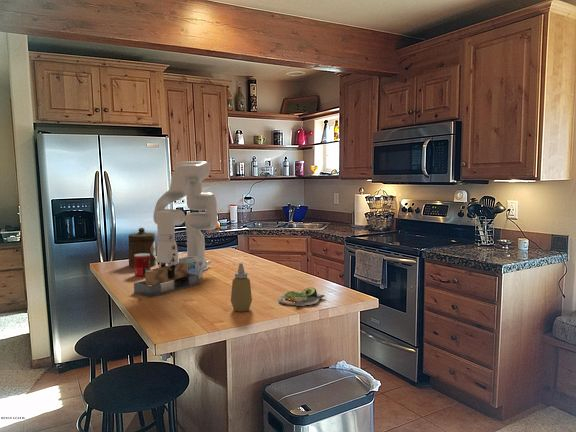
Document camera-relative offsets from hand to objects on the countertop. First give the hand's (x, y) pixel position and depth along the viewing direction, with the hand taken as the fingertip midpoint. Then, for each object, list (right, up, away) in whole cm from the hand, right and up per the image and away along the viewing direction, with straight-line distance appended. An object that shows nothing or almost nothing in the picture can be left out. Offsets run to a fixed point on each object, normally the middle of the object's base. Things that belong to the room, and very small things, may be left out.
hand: (167, 277), depth 194 cm
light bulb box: (+6, -4, +21) cm, 22 cm away
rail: (0, -1, 0) cm, 1 cm away
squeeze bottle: (+37, -8, -32) cm, 49 cm away
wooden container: (-30, -1, +54) cm, 62 cm away
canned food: (-21, -3, +28) cm, 35 cm away
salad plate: (+60, -7, -19) cm, 63 cm away
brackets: (0, -5, +1) cm, 5 cm away
